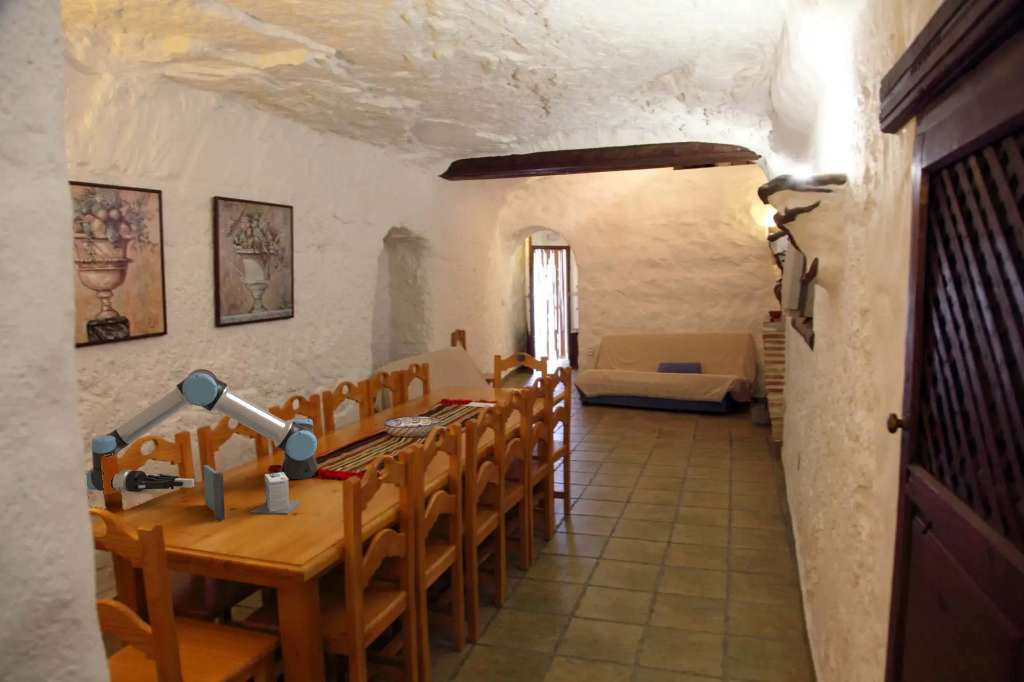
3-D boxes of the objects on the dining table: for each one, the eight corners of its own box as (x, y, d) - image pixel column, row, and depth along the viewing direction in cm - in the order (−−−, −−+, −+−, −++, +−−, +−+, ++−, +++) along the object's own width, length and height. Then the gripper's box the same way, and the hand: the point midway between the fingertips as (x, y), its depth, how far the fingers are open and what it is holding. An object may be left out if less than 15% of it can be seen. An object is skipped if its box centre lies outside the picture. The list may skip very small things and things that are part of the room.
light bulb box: (265, 503, 255) (263, 473, 254) (284, 500, 258) (283, 471, 257) (269, 512, 246) (268, 481, 245) (290, 509, 249) (289, 478, 248)
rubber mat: (268, 501, 259) (268, 499, 259) (302, 502, 258) (302, 500, 258) (251, 513, 247) (251, 511, 247) (287, 514, 245) (287, 512, 245)
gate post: (218, 518, 241) (216, 472, 240) (224, 518, 241) (222, 472, 240) (215, 520, 239) (213, 474, 238) (221, 520, 239) (219, 474, 238)
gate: (205, 503, 255) (203, 465, 254) (208, 503, 256) (207, 464, 255) (220, 516, 242) (219, 476, 240) (224, 516, 242) (222, 475, 241)
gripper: (142, 485, 263) (203, 488, 261) (119, 496, 250) (183, 499, 248) (141, 465, 262) (202, 468, 260) (118, 475, 249) (182, 478, 247)
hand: (192, 483), depth 254 cm, fingers closed
